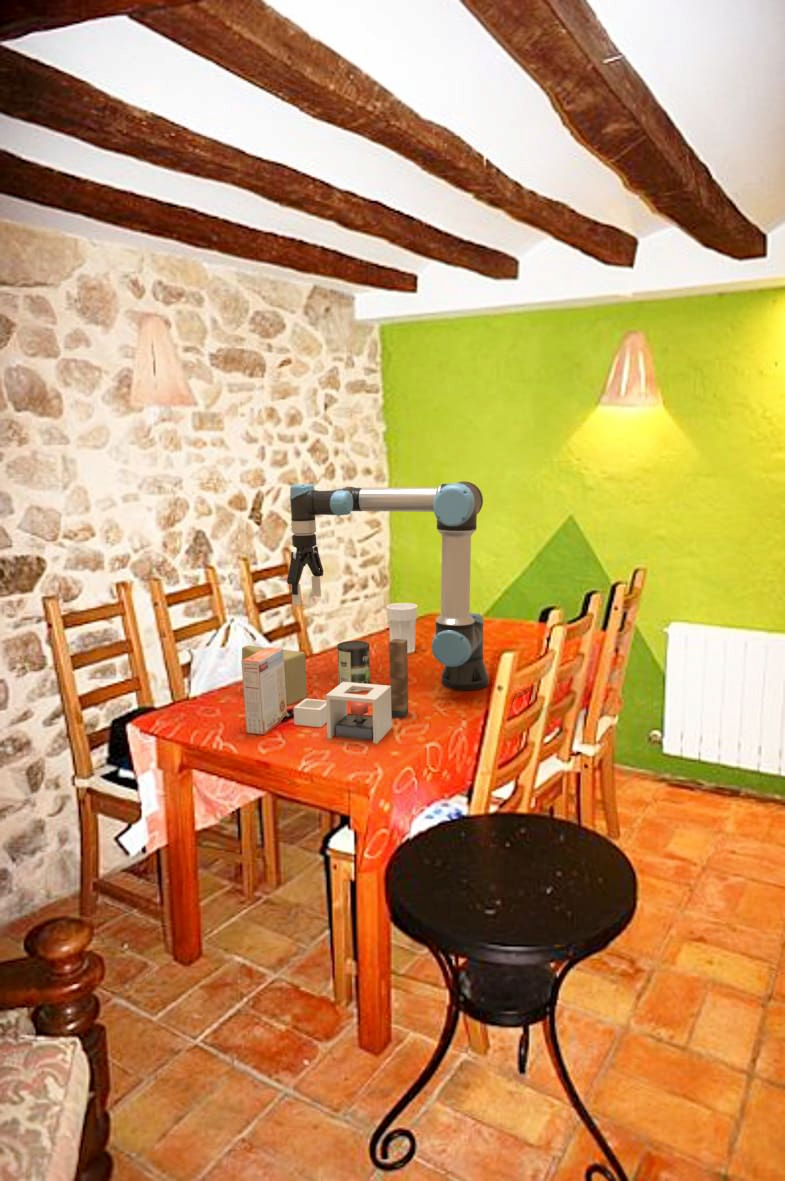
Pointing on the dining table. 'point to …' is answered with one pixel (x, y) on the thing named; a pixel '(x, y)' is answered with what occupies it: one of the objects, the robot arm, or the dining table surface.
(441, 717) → the dining table surface
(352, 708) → the red round piece
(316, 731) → the dining table surface
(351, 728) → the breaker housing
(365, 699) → the guard
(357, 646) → the coffee can
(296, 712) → the holder
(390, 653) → the brown wooden dowel
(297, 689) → the beige block
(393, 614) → the cup
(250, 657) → the cracker box
